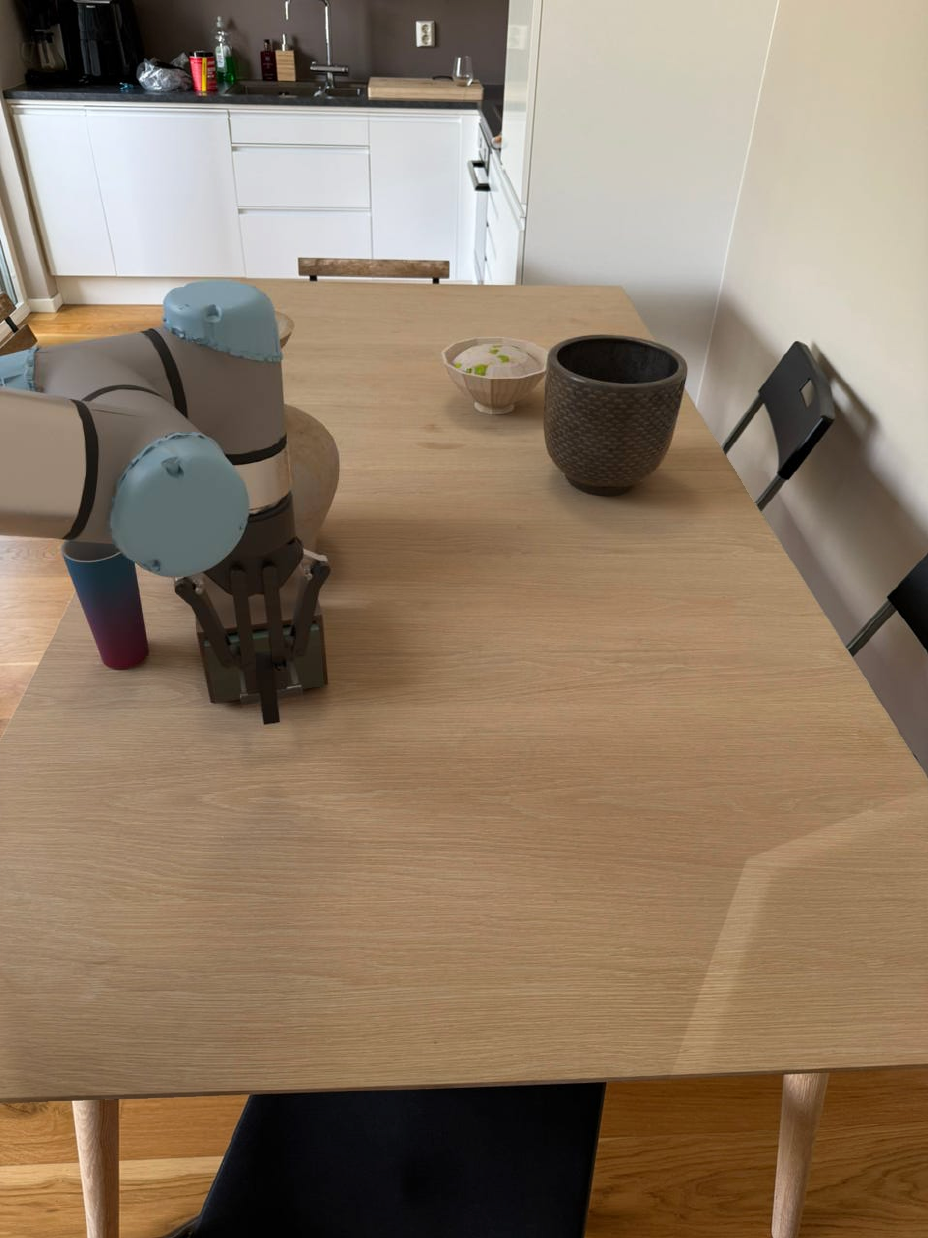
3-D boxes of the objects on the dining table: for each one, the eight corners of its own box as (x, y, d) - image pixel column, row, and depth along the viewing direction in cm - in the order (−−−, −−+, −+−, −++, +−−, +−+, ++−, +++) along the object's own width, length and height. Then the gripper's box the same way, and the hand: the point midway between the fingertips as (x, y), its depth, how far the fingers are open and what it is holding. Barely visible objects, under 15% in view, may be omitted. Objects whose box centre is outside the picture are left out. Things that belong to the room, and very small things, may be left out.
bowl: (431, 424, 150) (431, 367, 143) (448, 379, 165) (449, 326, 159) (545, 434, 148) (550, 376, 142) (552, 388, 163) (557, 334, 157)
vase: (249, 493, 130) (221, 283, 111) (376, 535, 122) (368, 316, 103) (140, 566, 114) (86, 336, 96) (277, 619, 106) (246, 380, 88)
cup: (131, 629, 104) (102, 519, 95) (170, 651, 101) (144, 540, 92) (81, 659, 100) (46, 546, 91) (120, 683, 97) (88, 569, 88)
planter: (577, 523, 126) (592, 396, 114) (514, 461, 140) (522, 343, 128) (691, 497, 133) (717, 374, 121) (621, 441, 147) (638, 326, 135)
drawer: (333, 725, 91) (328, 667, 87) (219, 744, 89) (208, 686, 84) (306, 612, 106) (301, 557, 101) (208, 626, 104) (198, 571, 99)
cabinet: (328, 683, 98) (322, 614, 92) (210, 703, 95) (196, 632, 89) (309, 606, 109) (302, 539, 103) (203, 621, 106) (190, 553, 100)
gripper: (319, 462, 74) (332, 677, 88) (154, 478, 70) (196, 698, 85) (334, 507, 68) (346, 729, 82) (156, 526, 65) (201, 754, 79)
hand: (270, 713), depth 83 cm, fingers closed
